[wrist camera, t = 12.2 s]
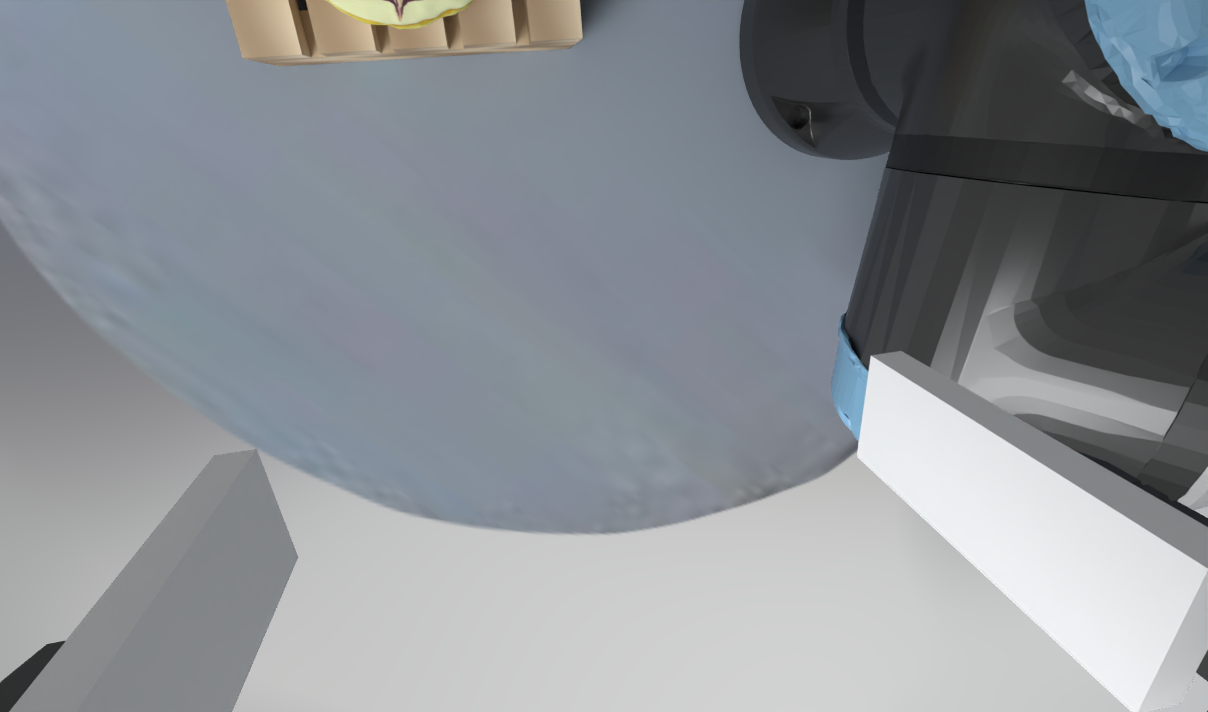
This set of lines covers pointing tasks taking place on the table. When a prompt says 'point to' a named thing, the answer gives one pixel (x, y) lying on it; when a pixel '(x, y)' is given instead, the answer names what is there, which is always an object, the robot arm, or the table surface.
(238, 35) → the pallet
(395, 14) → the decorated donut
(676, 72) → the table surface
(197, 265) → the table surface
